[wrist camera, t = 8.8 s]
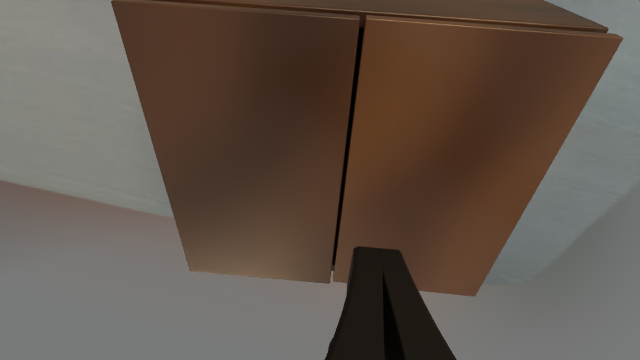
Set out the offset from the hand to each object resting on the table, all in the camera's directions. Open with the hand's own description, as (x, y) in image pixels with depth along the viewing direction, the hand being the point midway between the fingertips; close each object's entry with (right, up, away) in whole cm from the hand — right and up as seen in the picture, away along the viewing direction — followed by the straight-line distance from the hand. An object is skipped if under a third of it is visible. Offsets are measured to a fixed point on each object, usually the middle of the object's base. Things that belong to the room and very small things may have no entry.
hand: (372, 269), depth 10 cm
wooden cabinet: (0, +7, +8) cm, 10 cm away
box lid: (+3, +2, +3) cm, 4 cm away
